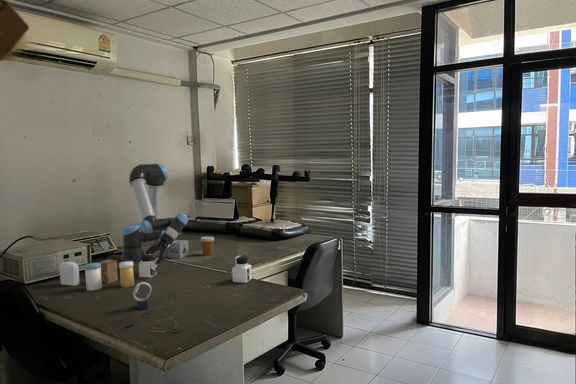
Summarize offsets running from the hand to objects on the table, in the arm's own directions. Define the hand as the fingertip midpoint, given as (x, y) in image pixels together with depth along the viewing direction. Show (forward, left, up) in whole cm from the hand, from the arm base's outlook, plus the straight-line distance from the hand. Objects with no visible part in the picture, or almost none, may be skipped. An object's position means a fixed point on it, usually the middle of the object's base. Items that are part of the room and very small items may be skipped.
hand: (146, 266), depth 236 cm
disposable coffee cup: (-18, +53, -6) cm, 57 cm away
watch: (+48, -25, -6) cm, 54 cm away
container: (+49, +30, -6) cm, 58 cm away
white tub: (+1, -29, -5) cm, 29 cm away
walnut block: (-7, -18, -5) cm, 20 cm away
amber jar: (+9, -15, -5) cm, 18 cm away
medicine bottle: (0, +1, -6) cm, 6 cm away
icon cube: (-32, +38, -6) cm, 50 cm away
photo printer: (-17, -35, -6) cm, 39 cm away
